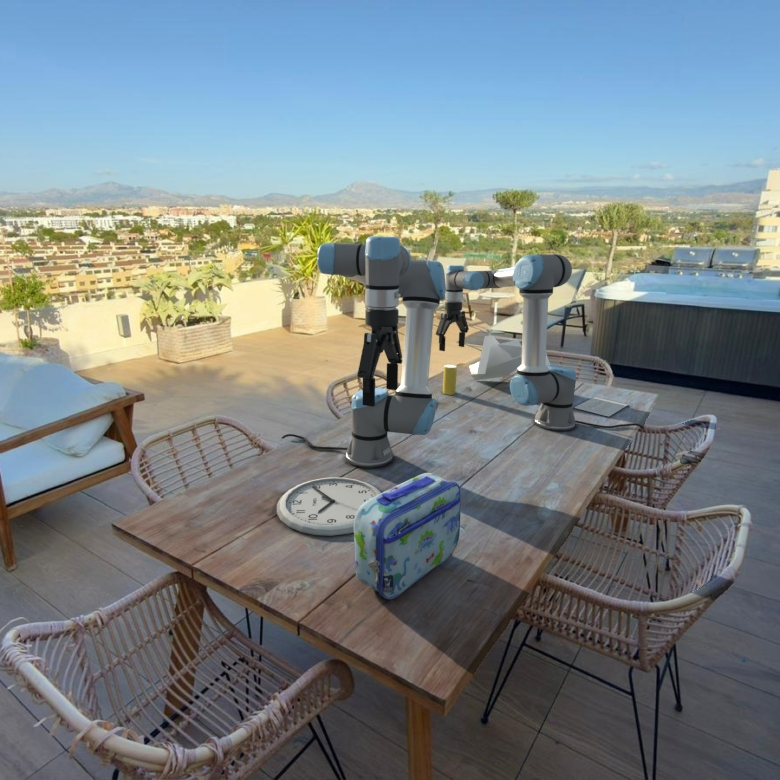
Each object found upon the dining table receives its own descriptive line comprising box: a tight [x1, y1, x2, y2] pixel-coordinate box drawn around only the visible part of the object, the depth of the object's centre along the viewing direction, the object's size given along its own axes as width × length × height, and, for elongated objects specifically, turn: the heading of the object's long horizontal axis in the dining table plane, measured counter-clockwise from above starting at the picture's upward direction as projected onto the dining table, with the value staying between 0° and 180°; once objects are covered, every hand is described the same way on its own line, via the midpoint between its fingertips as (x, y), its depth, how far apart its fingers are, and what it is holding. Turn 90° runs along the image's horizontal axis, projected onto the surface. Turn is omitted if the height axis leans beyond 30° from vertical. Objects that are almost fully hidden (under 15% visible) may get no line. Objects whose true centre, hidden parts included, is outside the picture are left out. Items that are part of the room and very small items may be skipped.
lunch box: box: [353, 472, 462, 600], centre depth 112 cm, size 26×11×21 cm, turn 134°
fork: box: [432, 395, 439, 402], centre depth 223 cm, size 3×16×2 cm, turn 160°
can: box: [442, 364, 458, 396], centre depth 240 cm, size 6×6×13 cm
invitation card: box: [573, 396, 629, 418], centre depth 226 cm, size 21×1×15 cm
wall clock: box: [276, 476, 383, 537], centre depth 142 cm, size 30×2×30 cm
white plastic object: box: [468, 308, 551, 381], centre depth 254 cm, size 37×45×31 cm
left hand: (380, 397), depth 124 cm, fingers open, 13 cm apart
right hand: (451, 348), depth 235 cm, fingers open, 13 cm apart
